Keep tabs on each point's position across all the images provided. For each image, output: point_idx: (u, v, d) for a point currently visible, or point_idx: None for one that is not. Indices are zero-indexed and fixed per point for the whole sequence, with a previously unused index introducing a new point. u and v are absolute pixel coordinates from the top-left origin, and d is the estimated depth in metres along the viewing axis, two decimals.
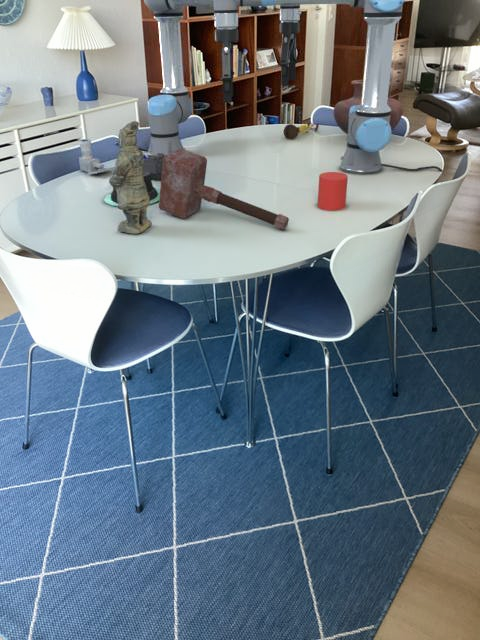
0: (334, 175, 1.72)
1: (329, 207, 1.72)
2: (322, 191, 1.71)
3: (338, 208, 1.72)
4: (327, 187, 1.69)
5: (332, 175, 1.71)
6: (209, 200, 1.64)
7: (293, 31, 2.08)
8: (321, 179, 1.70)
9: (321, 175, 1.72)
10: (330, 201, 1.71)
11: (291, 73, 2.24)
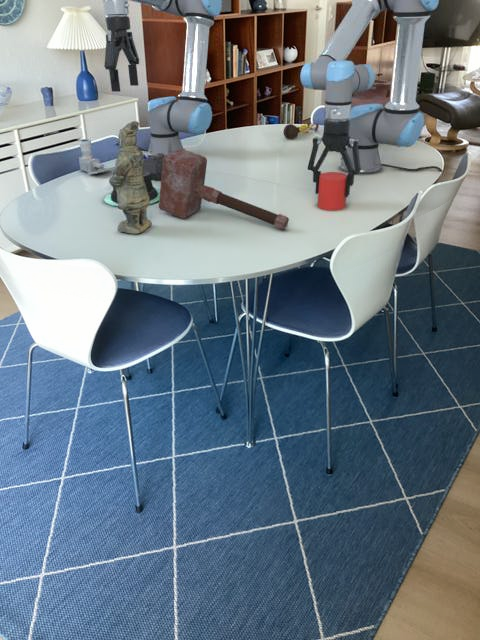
0: (334, 175, 1.72)
1: (329, 207, 1.72)
2: (322, 191, 1.71)
3: (338, 208, 1.72)
4: (327, 187, 1.69)
5: (332, 175, 1.71)
6: (209, 200, 1.64)
7: (120, 27, 1.73)
8: (321, 179, 1.70)
9: (321, 175, 1.72)
10: (330, 201, 1.71)
11: (132, 77, 1.89)
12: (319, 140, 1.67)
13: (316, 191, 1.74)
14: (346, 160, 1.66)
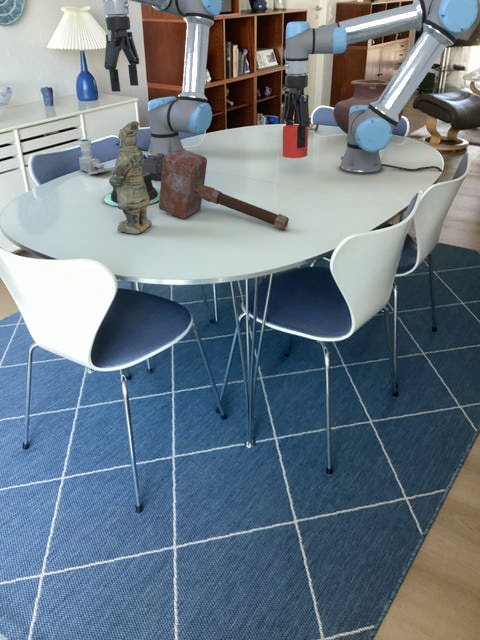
0: (297, 126, 1.92)
1: (284, 154, 1.95)
2: None
3: (290, 156, 1.93)
4: (283, 135, 1.93)
5: (294, 126, 1.92)
6: (209, 200, 1.64)
7: (120, 27, 1.73)
8: None
9: (288, 125, 1.95)
10: (284, 148, 1.94)
11: (132, 77, 1.89)
12: (288, 93, 1.91)
13: None
14: (297, 113, 1.86)
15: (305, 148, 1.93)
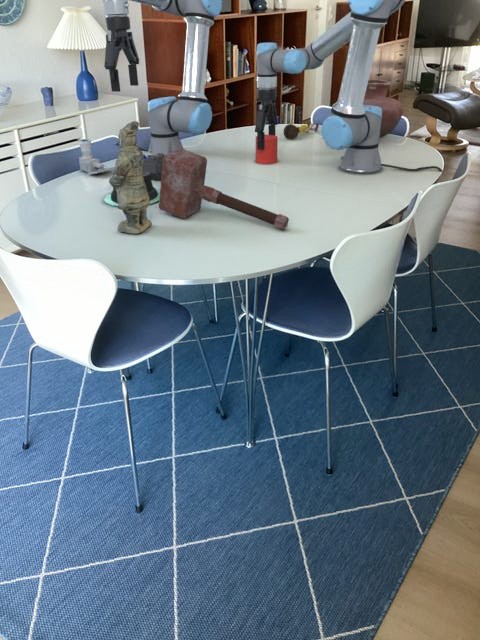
0: (268, 137, 2.19)
1: None
2: None
3: (256, 161, 2.23)
4: None
5: (266, 136, 2.20)
6: (209, 200, 1.64)
7: (120, 27, 1.73)
8: None
9: None
10: None
11: (132, 77, 1.89)
12: None
13: None
14: None
15: (268, 156, 2.19)
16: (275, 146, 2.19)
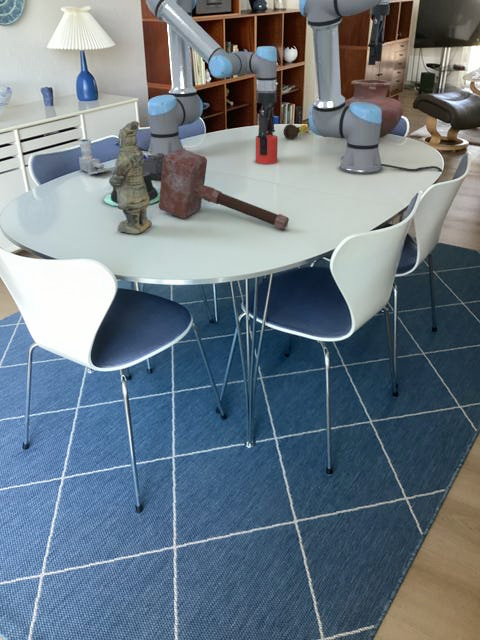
0: (268, 137, 2.19)
1: None
2: None
3: (256, 161, 2.23)
4: None
5: None
6: (209, 200, 1.64)
7: (270, 101, 2.10)
8: None
9: None
10: None
11: None
12: None
13: None
14: None
15: (268, 156, 2.19)
16: (275, 146, 2.19)
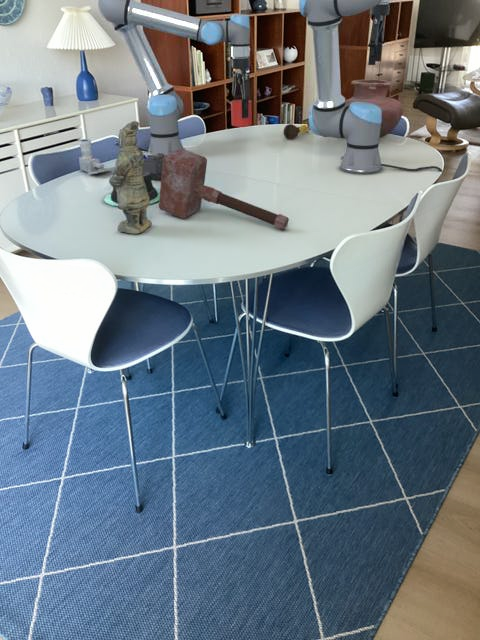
0: None
1: (232, 123, 2.38)
2: None
3: (236, 125, 2.37)
4: (231, 107, 2.36)
5: (240, 101, 2.35)
6: (209, 200, 1.64)
7: (248, 66, 2.26)
8: None
9: (237, 100, 2.38)
10: (232, 118, 2.37)
11: None
12: None
13: None
14: None
15: (248, 119, 2.36)
16: (251, 109, 2.37)
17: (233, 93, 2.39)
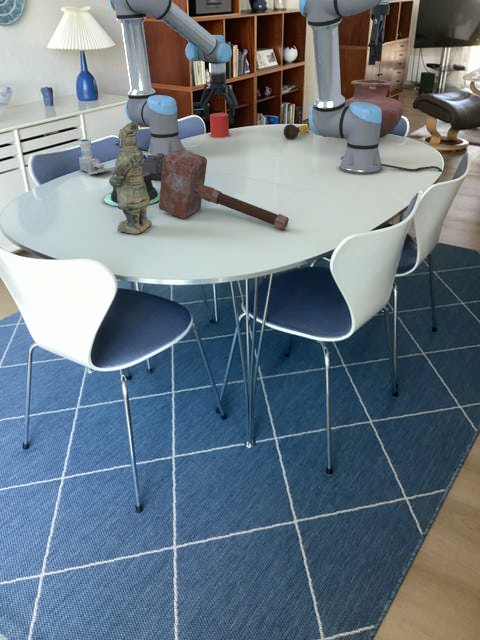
0: (220, 114, 2.63)
1: (215, 135, 2.64)
2: (210, 124, 2.63)
3: (220, 136, 2.63)
4: (212, 121, 2.61)
5: (218, 114, 2.62)
6: (209, 200, 1.64)
7: None
8: (210, 116, 2.62)
9: (212, 114, 2.64)
10: (215, 131, 2.62)
11: (207, 115, 2.65)
12: None
13: None
14: None
15: (228, 129, 2.66)
16: None
17: (201, 103, 2.63)
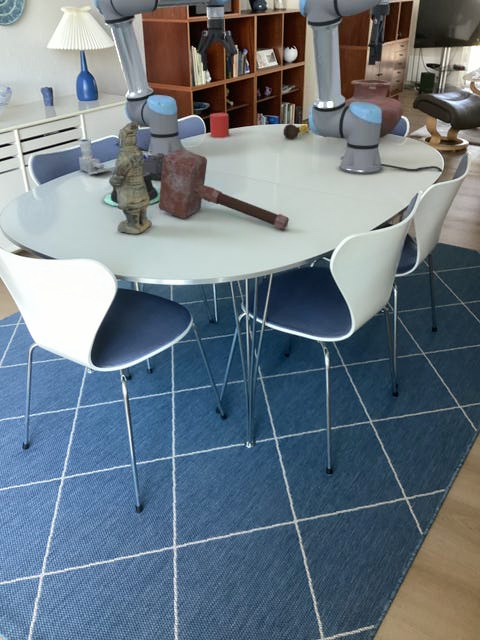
0: (220, 114, 2.63)
1: (215, 135, 2.64)
2: (210, 124, 2.63)
3: (220, 136, 2.63)
4: (212, 121, 2.61)
5: (218, 114, 2.62)
6: (209, 200, 1.64)
7: None
8: (210, 116, 2.62)
9: (212, 114, 2.64)
10: (215, 131, 2.62)
11: (205, 64, 2.54)
12: None
13: None
14: None
15: (228, 129, 2.66)
16: None
17: (199, 51, 2.52)
